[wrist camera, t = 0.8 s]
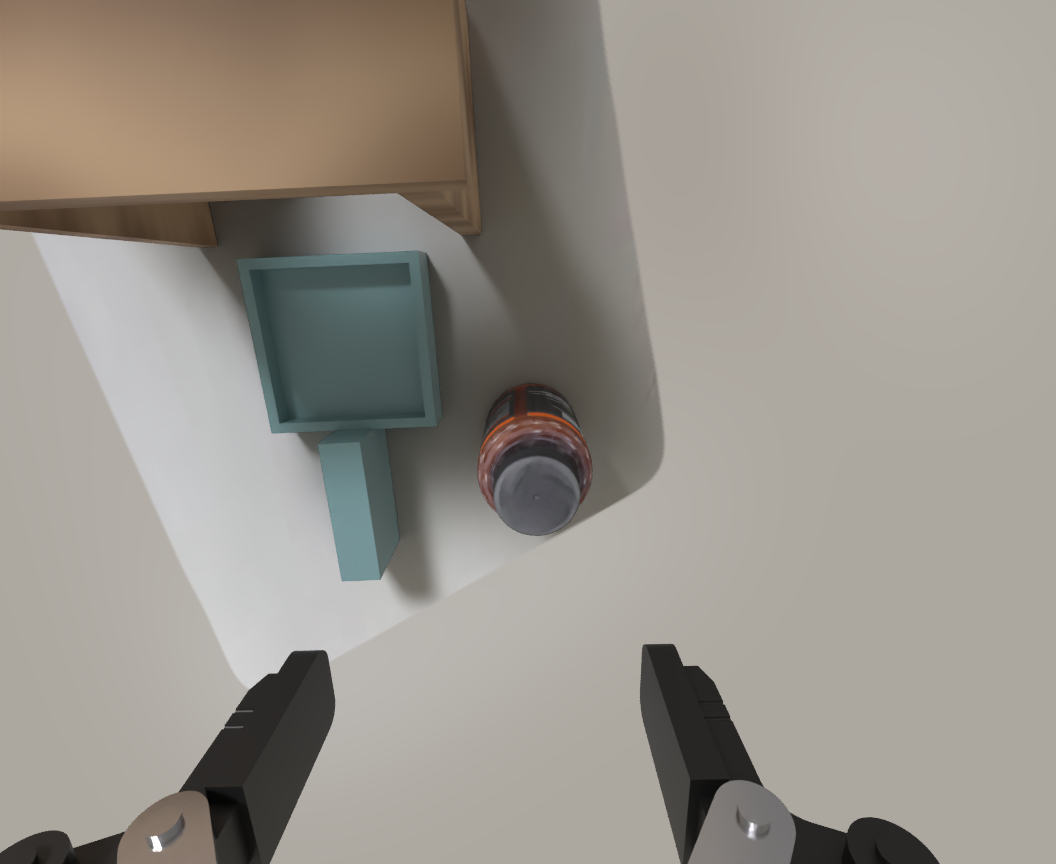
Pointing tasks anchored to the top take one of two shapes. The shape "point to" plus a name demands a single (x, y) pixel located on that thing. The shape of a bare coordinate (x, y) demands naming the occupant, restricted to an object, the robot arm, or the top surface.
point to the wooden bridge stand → (229, 111)
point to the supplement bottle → (534, 460)
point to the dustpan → (347, 377)
